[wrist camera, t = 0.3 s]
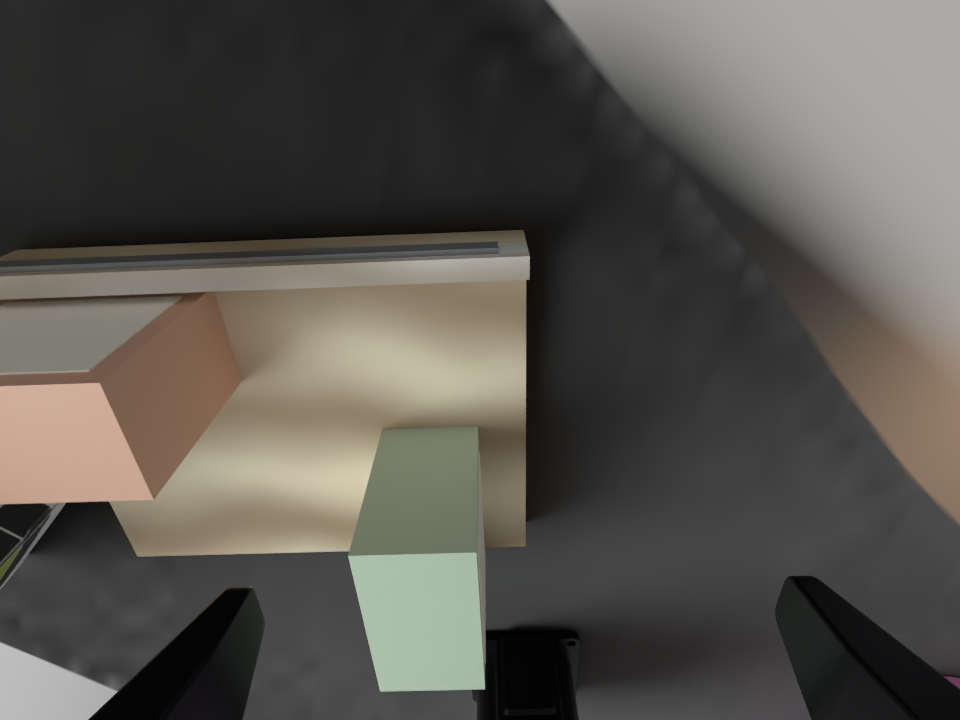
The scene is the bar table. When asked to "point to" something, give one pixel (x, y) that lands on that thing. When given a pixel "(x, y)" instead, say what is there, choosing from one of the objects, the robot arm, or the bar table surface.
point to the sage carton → (423, 560)
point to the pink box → (107, 392)
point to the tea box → (22, 532)
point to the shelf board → (323, 375)
